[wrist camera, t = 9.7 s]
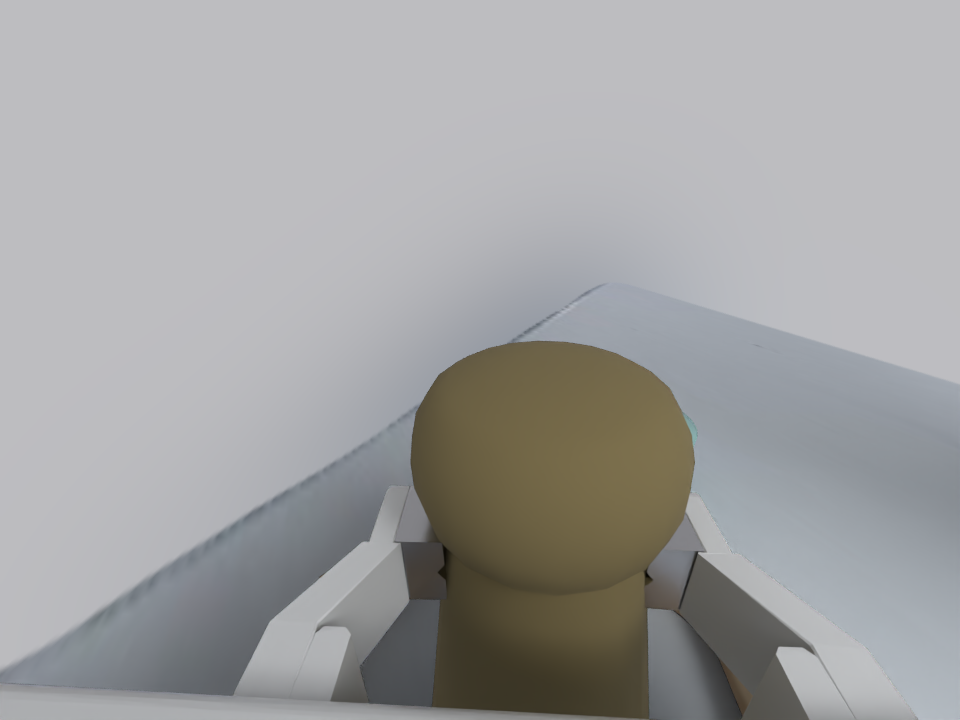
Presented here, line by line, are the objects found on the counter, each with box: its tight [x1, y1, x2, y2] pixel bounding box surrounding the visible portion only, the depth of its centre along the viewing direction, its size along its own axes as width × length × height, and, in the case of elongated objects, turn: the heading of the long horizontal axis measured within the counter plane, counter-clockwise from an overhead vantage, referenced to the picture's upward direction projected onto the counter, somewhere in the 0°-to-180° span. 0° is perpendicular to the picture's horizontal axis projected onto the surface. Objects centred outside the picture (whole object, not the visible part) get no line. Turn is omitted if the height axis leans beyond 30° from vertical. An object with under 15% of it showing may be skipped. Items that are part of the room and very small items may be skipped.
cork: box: [411, 341, 695, 719], centre depth 10 cm, size 6×6×11 cm
